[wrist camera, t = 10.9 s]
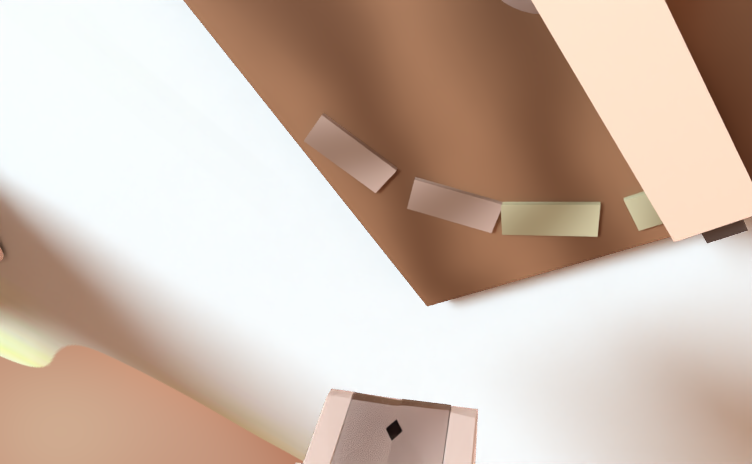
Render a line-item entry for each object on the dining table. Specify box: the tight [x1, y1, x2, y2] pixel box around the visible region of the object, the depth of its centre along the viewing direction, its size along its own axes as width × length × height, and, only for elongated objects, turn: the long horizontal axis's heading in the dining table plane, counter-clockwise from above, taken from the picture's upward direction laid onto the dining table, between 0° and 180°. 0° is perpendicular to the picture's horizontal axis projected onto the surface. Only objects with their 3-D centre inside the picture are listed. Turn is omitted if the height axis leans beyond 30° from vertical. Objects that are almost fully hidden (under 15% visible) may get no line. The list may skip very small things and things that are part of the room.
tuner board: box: [184, 0, 752, 306], centre depth 18 cm, size 19×22×2 cm
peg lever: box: [502, 0, 752, 243], centre depth 15 cm, size 14×4×4 cm, turn 40°
